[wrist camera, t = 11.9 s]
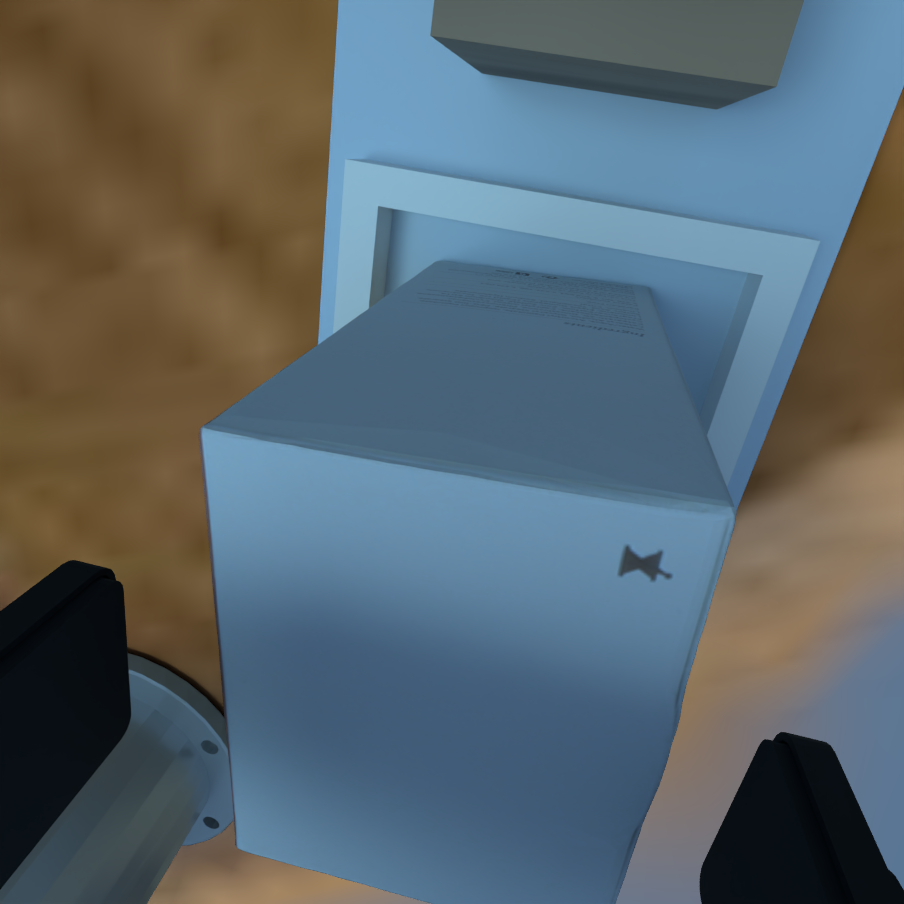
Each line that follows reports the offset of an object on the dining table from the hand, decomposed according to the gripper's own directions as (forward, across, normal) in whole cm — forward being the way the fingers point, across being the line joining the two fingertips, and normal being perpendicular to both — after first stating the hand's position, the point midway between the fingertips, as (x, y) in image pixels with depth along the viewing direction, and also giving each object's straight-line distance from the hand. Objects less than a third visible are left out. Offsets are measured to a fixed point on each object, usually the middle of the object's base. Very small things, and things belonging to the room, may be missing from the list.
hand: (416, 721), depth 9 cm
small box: (+13, 0, -1) cm, 13 cm away
